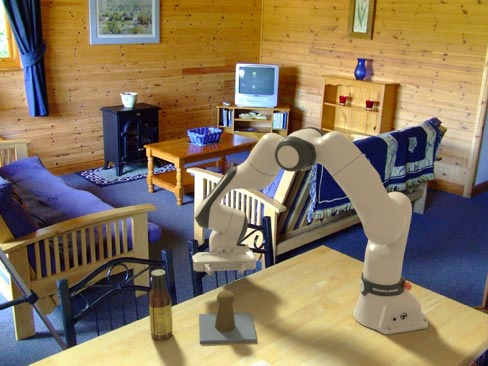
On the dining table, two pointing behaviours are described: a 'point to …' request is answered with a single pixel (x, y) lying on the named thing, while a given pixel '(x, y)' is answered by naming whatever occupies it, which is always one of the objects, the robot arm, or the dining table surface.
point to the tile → (237, 335)
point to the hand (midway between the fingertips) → (225, 272)
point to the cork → (225, 312)
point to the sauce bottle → (160, 307)
